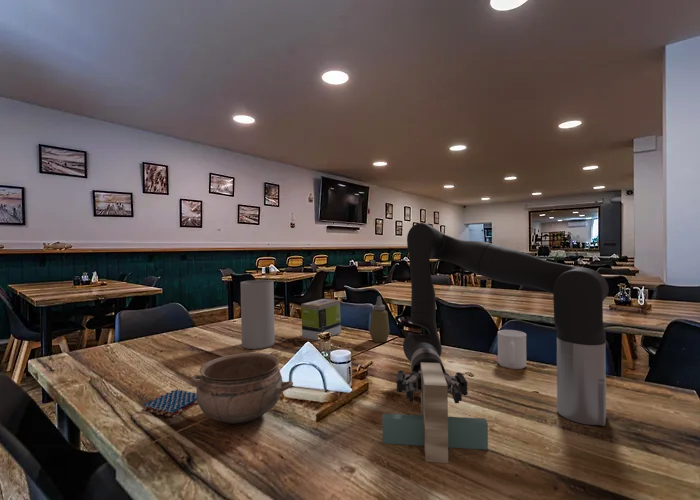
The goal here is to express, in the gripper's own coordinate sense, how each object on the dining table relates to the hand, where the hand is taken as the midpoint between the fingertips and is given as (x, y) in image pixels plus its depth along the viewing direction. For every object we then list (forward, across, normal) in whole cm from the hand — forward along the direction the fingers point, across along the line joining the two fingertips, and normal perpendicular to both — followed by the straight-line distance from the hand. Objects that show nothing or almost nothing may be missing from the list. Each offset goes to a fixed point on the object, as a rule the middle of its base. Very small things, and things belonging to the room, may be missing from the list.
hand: (434, 397), depth 68 cm
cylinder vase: (-64, -61, +10) cm, 89 cm away
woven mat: (-12, -62, +11) cm, 64 cm away
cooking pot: (-8, -43, +10) cm, 45 cm away
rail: (-2, 0, +10) cm, 10 cm away
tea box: (-80, -39, +10) cm, 90 cm away
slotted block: (-2, 0, +10) cm, 10 cm away
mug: (-48, +29, +10) cm, 57 cm away
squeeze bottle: (-74, -14, +10) cm, 76 cm away
